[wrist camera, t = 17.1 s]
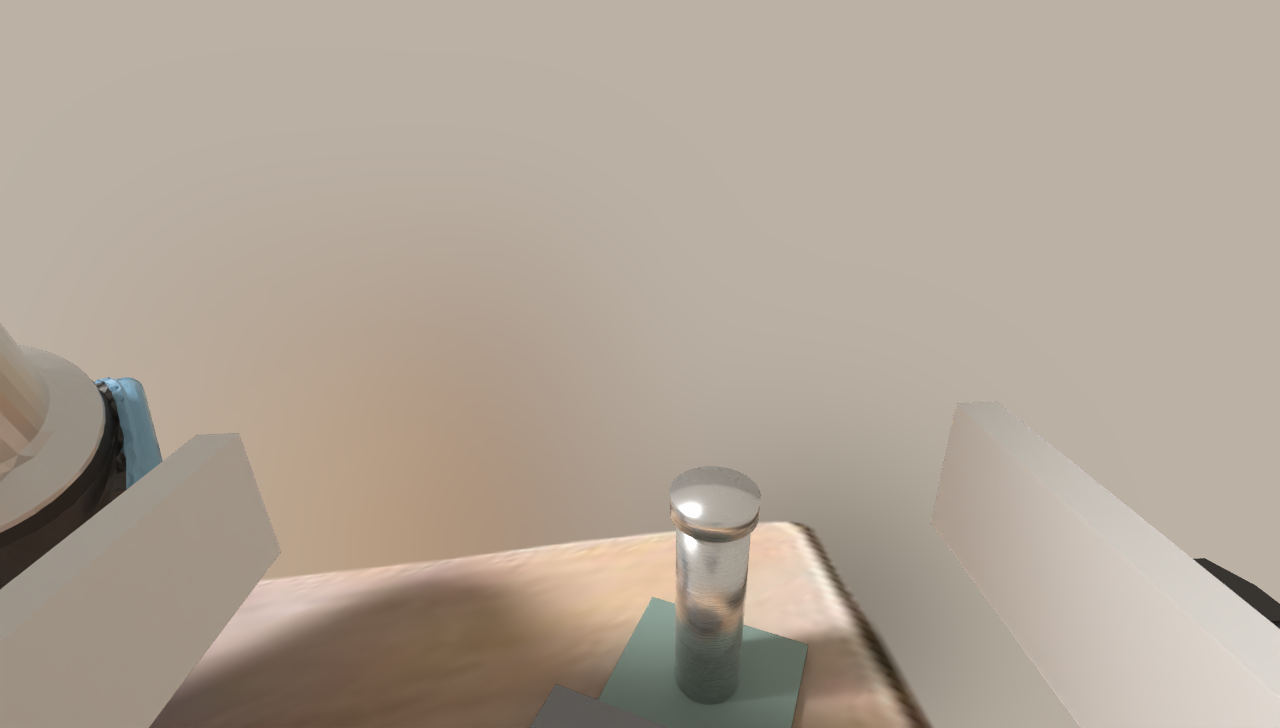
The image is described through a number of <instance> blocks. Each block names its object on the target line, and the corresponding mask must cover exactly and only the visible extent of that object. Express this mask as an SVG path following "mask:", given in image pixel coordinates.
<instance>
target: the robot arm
mask: <svg viewBox="0 0 1280 728" xmlns="http://www.w3.org/2000/svg"><path fill="white" fill-rule="evenodd" d="M931 524H932V526H933V527H934V528H935V530H936V531H937V532H938V534H939V535H940V536H941V538H942V539H943V540H944V542H945V543H946V545H947V546H948V547H949V549H950V550H951V552H952V553H953V554H954V556H955V557H956V558H957V560H958V561H959V563H960V564H961V565H962V567H963V568H964V569H965V571H966V572H967V574H968V575H969V576H970V578H971V579H972V580H973V582H974V583H975V584H976V586H977V587H978V589H979V590H980V591H981V593H982V594H983V595H984V597H985V598H986V600H987V601H988V602H989V604H990V605H991V606H992V608H993V609H994V611H995V612H996V613H997V615H998V616H999V617H1000V619H1001V620H1002V622H1003V623H1004V624H1005V626H1006V627H1007V628H1008V630H1009V631H1010V633H1011V634H1012V635H1013V637H1014V638H1015V639H1016V641H1017V642H1018V644H1019V645H1020V646H1021V647H1022V649H1023V650H1024V652H1025V653H1026V655H1027V656H1028V657H1029V659H1030V660H1031V661H1032V663H1033V664H1034V665H1035V667H1036V668H1037V670H1038V671H1039V672H1040V674H1041V675H1042V676H1043V678H1044V679H1045V681H1046V682H1047V683H1048V685H1049V686H1050V687H1051V689H1052V690H1053V692H1054V693H1055V694H1056V696H1057V697H1058V698H1059V700H1060V701H1061V703H1062V704H1063V705H1064V707H1065V708H1066V709H1067V711H1068V712H1069V714H1070V715H1071V716H1072V717H1073V719H1074V720H1075V722H1076V723H1077V725H1078V726H1079V727H1080V728H1280V604H1279V603H1278V602H1277V601H1275V600H1274V599H1273V598H1271V597H1270V596H1269V595H1267V594H1266V593H1265V592H1263V591H1262V590H1261V589H1259V588H1258V587H1257V586H1255V585H1254V584H1252V583H1250V582H1248V581H1246V580H1244V579H1242V578H1241V577H1238V576H1237V575H1235V574H1233V573H1231V572H1229V571H1227V570H1225V569H1224V568H1222V567H1220V566H1218V565H1216V564H1214V563H1212V562H1211V561H1209V560H1207V559H1205V558H1202V559H1201V558H1200V559H1192V558H1190V556H1188V555H1187V554H1186V553H1185V552H1183V551H1182V550H1181V549H1180V548H1178V547H1177V546H1176V545H1175V544H1173V543H1172V542H1171V541H1170V540H1168V539H1167V538H1166V537H1165V536H1164V535H1162V534H1161V533H1160V532H1159V531H1157V530H1156V529H1155V528H1154V527H1152V526H1151V525H1150V524H1148V523H1147V522H1146V521H1145V520H1143V519H1142V518H1141V517H1140V516H1139V515H1137V514H1136V513H1135V512H1134V511H1133V510H1131V509H1130V508H1129V507H1128V506H1126V505H1125V504H1124V503H1123V502H1121V501H1120V500H1119V499H1118V498H1116V497H1115V496H1114V495H1112V494H1111V493H1110V492H1109V491H1108V490H1106V489H1105V488H1104V487H1102V486H1101V485H1100V484H1099V483H1098V482H1096V481H1095V480H1094V479H1093V478H1091V477H1090V476H1089V475H1088V474H1086V473H1085V472H1084V471H1083V470H1082V469H1080V468H1079V467H1078V466H1077V465H1075V464H1074V463H1073V462H1072V461H1070V460H1069V459H1068V458H1067V457H1065V456H1064V455H1063V454H1062V453H1060V452H1059V451H1058V450H1057V449H1055V448H1054V447H1053V446H1052V445H1050V444H1049V443H1048V442H1047V441H1046V440H1044V439H1043V438H1042V437H1041V436H1039V435H1038V434H1037V433H1036V432H1034V431H1033V430H1032V429H1031V428H1029V427H1028V426H1027V425H1026V424H1024V423H1023V422H1022V421H1021V420H1020V419H1018V418H1017V417H1016V416H1015V415H1013V414H1012V413H1011V412H1009V411H1008V410H1007V409H1006V408H1005V407H1003V406H1002V405H1001V404H1000V403H998V402H976V403H975V402H974V403H956V406H955V411H954V415H953V420H952V425H951V430H950V435H949V439H948V444H947V449H946V454H945V458H944V463H943V468H942V472H941V477H940V482H939V487H938V492H937V496H936V501H935V506H934V511H933V515H932V520H931ZM280 553H281V550H280V547H279V545H278V541H277V539H276V536H275V533H274V530H273V528H272V525H271V522H270V519H269V516H268V514H267V511H266V508H265V505H264V503H263V500H262V497H261V494H260V491H259V488H258V486H257V483H256V480H255V477H254V474H253V471H252V469H251V466H250V463H249V460H248V457H247V455H246V452H245V449H244V446H243V443H242V441H241V438H240V435H239V433H231V434H230V433H229V434H207V435H206V434H205V435H196V436H194V437H193V438H192V439H191V440H189V441H188V442H187V443H185V444H184V445H183V446H182V447H181V448H179V449H178V450H177V451H175V452H174V453H173V454H171V455H170V456H169V457H168V458H166V459H165V460H164V461H162V457H161V453H160V448H159V445H158V441H157V437H156V433H155V429H154V426H153V422H152V418H151V414H150V410H149V406H148V402H147V399H146V395H145V391H144V388H143V386H142V384H141V383H140V382H139V381H137V380H135V379H133V378H120V379H112V378H109V377H108V378H103V379H98V380H96V381H95V382H93V381H92V380H91V379H90V378H89V377H88V375H87V374H86V373H84V372H83V371H82V370H81V369H80V368H79V367H77V366H76V365H75V364H73V363H71V362H69V361H67V360H66V359H64V358H61V357H59V356H57V355H55V354H52V353H50V352H46V351H43V350H40V349H36V348H32V347H26V346H21V345H17V344H16V342H15V341H14V340H13V339H12V337H11V336H10V335H9V333H8V332H7V331H6V330H5V328H4V327H3V326H2V325H1V323H0V728H149V727H150V726H151V724H152V723H153V722H154V720H155V719H156V718H157V716H158V715H159V714H160V712H161V711H162V710H163V708H164V707H165V706H166V704H167V703H168V702H169V700H170V699H171V698H172V696H173V695H174V694H175V692H176V691H177V690H178V688H179V687H180V686H181V684H182V683H183V682H184V680H185V679H186V678H187V676H188V675H189V674H190V672H191V671H192V670H193V669H194V667H195V666H196V665H197V663H198V662H199V661H200V659H201V658H202V657H203V655H204V654H205V653H206V651H207V650H208V649H209V647H210V646H211V645H212V643H213V642H214V641H215V639H216V638H217V637H218V635H219V634H220V633H221V631H222V630H223V629H224V627H225V626H226V625H227V623H228V622H229V621H230V619H231V618H232V617H233V615H234V614H235V613H236V611H237V610H238V609H239V607H240V606H241V605H242V603H243V602H244V601H245V599H246V598H247V597H248V595H249V594H250V593H251V591H252V590H253V589H254V587H255V586H256V585H257V583H258V582H259V581H260V579H261V578H262V577H263V575H264V574H265V573H266V571H267V570H268V569H269V568H270V566H271V565H272V564H273V562H274V561H275V560H276V558H277V557H278V556H279V554H280Z"/></svg>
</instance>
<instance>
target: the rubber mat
mask: <svg viewBox="0 0 1280 728" xmlns="http://www.w3.org/2000/svg"><path fill="white" fill-rule="evenodd" d="M807 649H808V644H805V643H801V642H798V641H795V640H792V639H788V638H785V637H782V636H778V635H775V634H772V633H769V632H765V631H762V630H759V629H756V628H752V627H749V626H746V625H744V626H743V639H742V652H741V665H740V678H739V685H738V688H737V690H736V692H735V693H734V694H733V695H732V696H731V697H730V698H729V699H727V700H726V701H724V702H721V703H717V704H702V703H698V702H696V701H693V700H691V699H690V698H688V697H687V696H685V695H684V694H683V693H682V692H681V690H680V689H679V687H678V686H677V683H676V681H675V676H674V664H675V604H674V603H671V602H667V601H664V600H661V599H657V598H654V597H652V599H651V601H650V603H649V605H648V606H647V608H646V610H645V612H644V614H643V616H642V618H641V620H640V621H639V623H638V625H637V627H636V629H635V631H634V633H633V635H632V637H631V638H630V640H629V642H628V644H627V646H626V648H625V650H624V652H623V653H622V655H621V657H620V659H619V661H618V663H617V665H616V667H615V669H614V670H613V672H612V674H611V676H610V678H609V680H608V682H607V684H606V685H605V687H604V689H603V691H602V693H601V695H600V697H599V699H598V700H599V701H601V702H604V703H607V704H609V705H612V706H614V707H617V708H619V709H622V710H624V711H627V712H630V713H632V714H635V715H637V716H640V717H642V718H645V719H647V720H650V721H653V722H655V723H658V724H660V725H663V726H665V727H668V728H791V727H792V723H793V718H794V713H795V708H796V703H797V698H798V693H799V688H800V684H801V679H802V674H803V669H804V664H805V659H806V654H807Z"/></svg>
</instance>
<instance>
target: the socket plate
mask: <svg viewBox="0 0 1280 728" xmlns="http://www.w3.org/2000/svg"><path fill="white" fill-rule="evenodd" d="M529 728H668V727H665V726H663V725H660V724H658V723H655V722H653V721H650V720H647V719H645V718H642V717H640V716H637V715H635V714H632V713H630V712H627V711H624V710H622V709H619V708H617V707H614V706H612V705H609V704H607V703H604V702H601V701H599V700H596V699H594V698H591V697H589V696H586V695H583V694H581V693H578V692H576V691H573V690H571V689H568V688H566V687H563V686H560V685H558V684H556V685H555V687H554V688H553V690H552V692H551V693H550V695H549V696H548V698H547V700H546V701H545V703H544V705H543V706H542V708H541V709H540V711H539V713H538V714H537V716H536V718H535V719H534V721H533V722H532V724H531V726H530V727H529Z"/></svg>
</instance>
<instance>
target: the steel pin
mask: <svg viewBox="0 0 1280 728" xmlns="http://www.w3.org/2000/svg"><path fill="white" fill-rule="evenodd" d="M760 496H761V495H760V491H759V488H758V486H757V485H756V484H755V482H754V481H752V480H751V479H750V478H749V477H747V476H746V475H744V474H742V473H740V472H738V471H735V470H732V469H728V468H723V467H699V468H694V469H691V470H688V471H686V472H684V473H682V474H680V475H679V476H678V477H677V478H675V479H674V481H673V482H672V484H671V487H670V517H671V520H672V521H673V523H674V525H675V526H676V593H675V664H674V676H675V681H676V683H677V686H678V687H679V689H680V690H681V692H682V693H683V694H684V695H685V696H687V697H688V698H690V699H691V700H693V701H696V702H698V703H702V704H717V703H721V702H724V701H726V700H727V699H729V698H730V697H731V696H732V695H733V694H734V693H735V692H736V690H737V688H738V685H739V678H740V665H741V652H742V639H743V626H744V612H745V599H746V586H747V573H748V560H749V547H750V534H751V532H752V531H753V530H754V529H755V528H756V526H757V524H758V520H759V510H760Z"/></svg>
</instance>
